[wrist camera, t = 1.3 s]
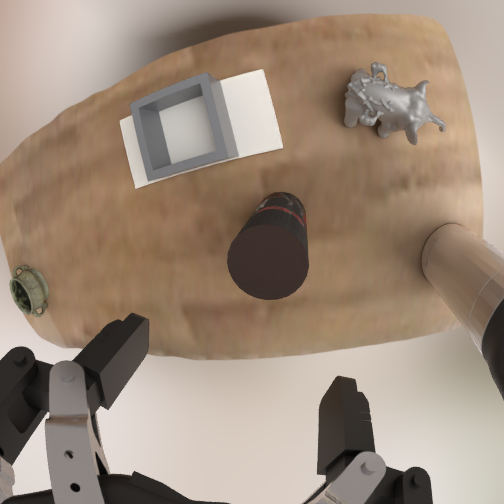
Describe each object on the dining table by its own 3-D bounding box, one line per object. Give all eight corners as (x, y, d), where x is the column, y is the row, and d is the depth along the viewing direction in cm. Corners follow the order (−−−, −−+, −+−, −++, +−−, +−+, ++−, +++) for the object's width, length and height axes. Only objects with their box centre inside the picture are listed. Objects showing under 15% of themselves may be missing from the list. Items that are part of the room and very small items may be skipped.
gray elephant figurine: (336, 71, 27) (341, 51, 20) (427, 77, 24) (452, 63, 17) (344, 143, 30) (352, 143, 23) (434, 147, 27) (462, 149, 20)
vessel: (20, 266, 47) (2, 277, 42) (34, 254, 45) (13, 265, 39) (44, 311, 51) (27, 324, 45) (60, 304, 48) (41, 318, 42)
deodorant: (272, 183, 33) (251, 208, 19) (315, 208, 33) (324, 252, 19) (248, 223, 35) (214, 274, 21) (289, 247, 35) (280, 312, 22)
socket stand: (263, 71, 28) (256, 56, 23) (283, 148, 31) (280, 147, 26) (123, 121, 33) (96, 119, 27) (139, 187, 36) (114, 195, 30)
